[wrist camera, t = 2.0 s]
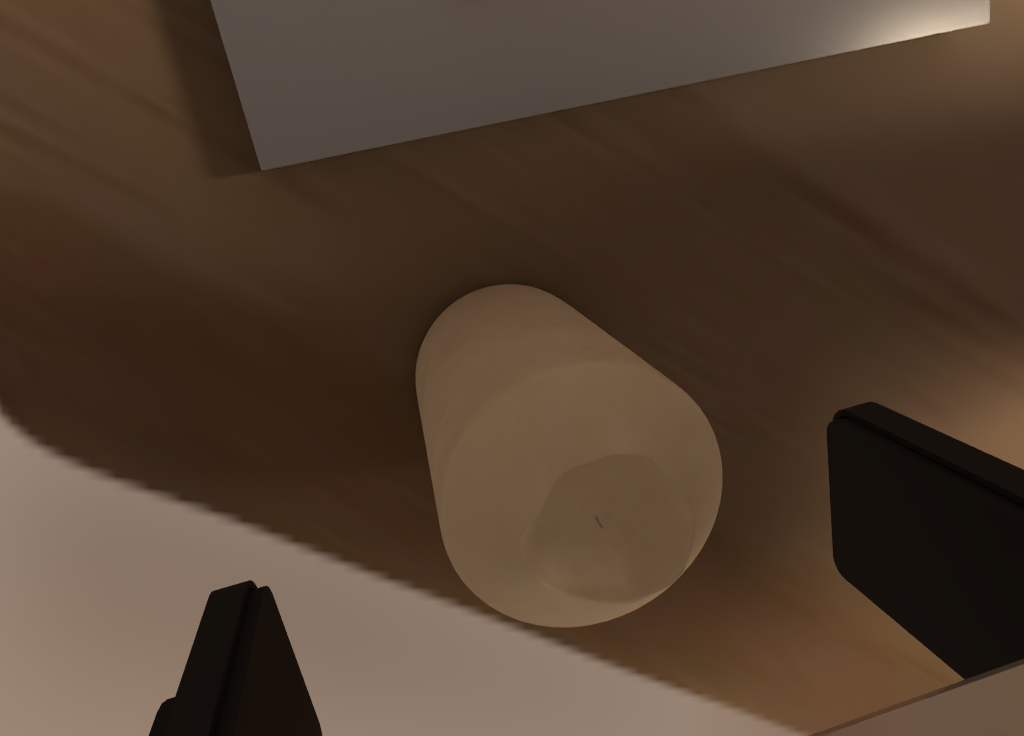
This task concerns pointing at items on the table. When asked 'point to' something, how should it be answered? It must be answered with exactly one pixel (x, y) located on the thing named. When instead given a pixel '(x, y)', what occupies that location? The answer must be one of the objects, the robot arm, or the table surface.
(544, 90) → the candle stand
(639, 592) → the candle
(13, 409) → the table surface
